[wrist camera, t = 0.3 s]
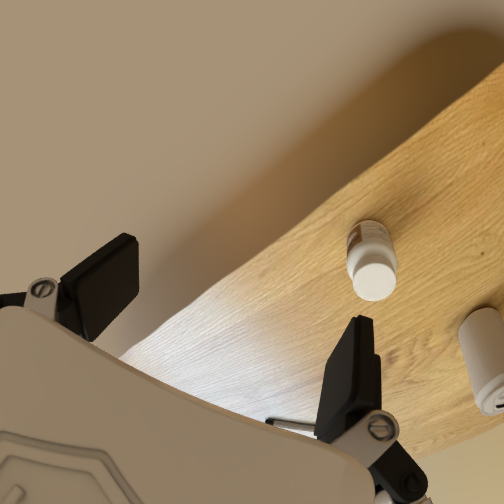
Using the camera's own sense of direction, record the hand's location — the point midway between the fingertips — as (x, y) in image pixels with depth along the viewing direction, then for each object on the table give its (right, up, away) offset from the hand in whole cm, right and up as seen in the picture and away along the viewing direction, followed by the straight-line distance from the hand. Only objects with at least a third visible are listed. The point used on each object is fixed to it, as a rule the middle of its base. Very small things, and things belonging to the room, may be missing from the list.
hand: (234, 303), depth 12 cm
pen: (+11, -28, +33) cm, 44 cm away
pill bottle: (+12, +3, +16) cm, 20 cm away
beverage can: (+28, -7, +16) cm, 33 cm away
